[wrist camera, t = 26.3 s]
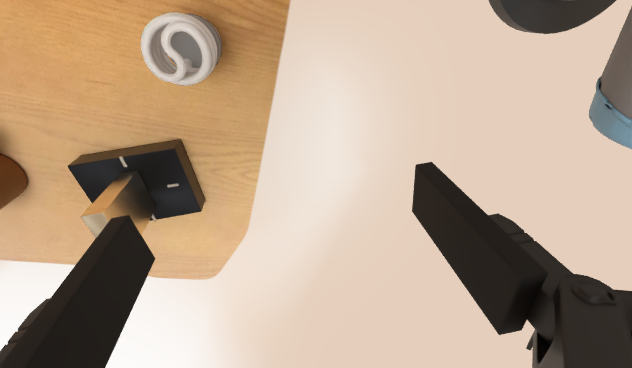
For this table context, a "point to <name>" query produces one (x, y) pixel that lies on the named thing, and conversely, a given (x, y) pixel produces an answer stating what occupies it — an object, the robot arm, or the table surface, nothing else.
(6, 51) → the table surface
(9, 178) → the mug
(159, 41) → the light bulb
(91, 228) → the red-tipped metal block
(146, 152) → the socket base
